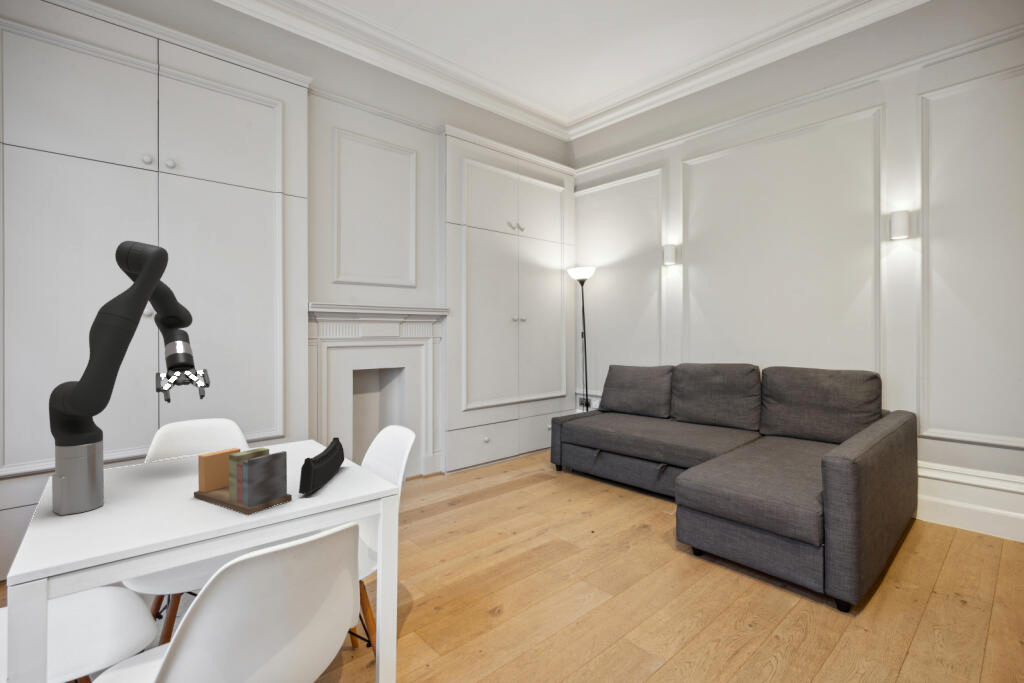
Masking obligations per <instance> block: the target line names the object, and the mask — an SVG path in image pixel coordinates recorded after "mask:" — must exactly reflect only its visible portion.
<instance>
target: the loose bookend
mask: <svg viewBox="0 0 1024 683" xmlns="http://www.w3.org/2000/svg"><path fill="white" fill-rule="evenodd" d="M239 452H241V448H237V447H233V448H227V449H224V450H217V451H214V452H209V453H204V454H199V455H198V457H197V459H198V464H197V465H198V467H197V468H198V472H197V473H198V491H200V492H203V493H205V492H209V491H213V490H216V489H220V488H224V487H227V486H229V455H230V454H234V453H239Z"/></svg>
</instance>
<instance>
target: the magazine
mask: <svg viewBox="0 0 1024 683" xmlns="http://www.w3.org/2000/svg"><path fill="white" fill-rule="evenodd" d="M344 461H345V450H344V446H343V444H342V442H341V441H340V437H333V438H332V441H330V444H329V445H328V446H327V447H326V448H325V449H323V451H321V452H320V453H319V454H317V455H315V456H314V457H307V458H304V463H303V464H302V466H301V468H300V479H299V488H298V493H299V495H300V494H301V495H308V494H312V492H315V491H316V490H319V489H320V487H321V488H322V487H324V486H325V485H326V484H327V483H329V482H330V481H331V479H333V477H334V476H335V475H336V473H338V471H339V469H340V468H341V467H342V465H343V463H344ZM324 484H325V485H324ZM323 485H324V486H323Z"/></svg>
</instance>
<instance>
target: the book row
mask: <svg viewBox="0 0 1024 683" xmlns="http://www.w3.org/2000/svg"><path fill="white" fill-rule="evenodd" d="M287 454H288V453H287V451H285V450H284V451H278V452H274V453H270V449H269V448H266V447H265V448H264V447H258V448H253V449H249V450H246V451H245V450H243V451H240V452H239V453H234V454H230V455H229V486H227V487H224V488H220V489H216V490H213V491H209V492H205V493H203V492H200V491H199V490H196V491H194V492H193V498H195V499H197V498H198V499H197V500H200V501H203V500H204V502H206V501H207V503H209V502H210V504H212V503H214V504H213V505H216V504H217V505H216V506H219V505H220V506H219V507H222V506H224V507H223V508H225V507H227V508H226V509H228V508H230V509H229V510H231V509H233V510H232V511H234V510H236V511H235V512H237V511H239V512H238V513H240V512H242V513H241V514H243V513H245V514H244V515H246V514H248V515H247V516H249V514H250V515H252V513H253V514H256V513H259V512H261V511H260V510H262V511H264V510H263V509H265V510H267V509H266V508H268V509H270V508H269V507H271V508H273V507H272V506H274V505H277V504H280V503H282V504H285V503H288V502H290V501H292V499H293V498H292V496H293V495H292V494H290V493H288V474H287V473H288V470H287V468H288V465H287V464H288V463H287V461H288V458H287V457H288V455H287ZM287 501H288V502H287ZM284 502H285V503H284ZM280 505H281V504H280ZM277 506H278V505H277ZM274 507H275V506H274ZM258 511H259V512H258ZM255 512H256V513H255Z"/></svg>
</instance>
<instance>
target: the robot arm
mask: <svg viewBox="0 0 1024 683" xmlns="http://www.w3.org/2000/svg"><path fill="white" fill-rule="evenodd" d="M114 255H115V256H114V257H115V262H116V265H117V266H118V267H119V269H120V270H121V271H122V272H123V273H124V275H126V276H127V277H128V278H129V279H130V280H131V281H132V283H133V284H132V285H130V287H128V288H126V290H124V291H123V292H121V293H119V294H118V295H116V296H114V297H113V298H112V299H110V300H108V301H107V302H106V303H104V304H103V305H102V306H101V307H100V308H99V309H98V311H97V314H96V315H95V318H94V319H93V322H92V324H91V326H90V329H89V331H88V343H89V344H88V346H89V359H88V362H87V365H86V367H85V370H84V371H83V374H82V375H81V377H80V379H79V380H69V381H65V382H61V383H60V384H58V385H57V386H55V388H53V390H52V391H51V393H50V395H49V397H48V398H49V399H48V418H49V428H50V433H51V435H52V437H53V439H54V466H55V467H54V472H55V473H53V474H52V476H51V484H52V485H51V489H52V490H51V492H52V494H51V496H52V497H51V498H52V499H51V500H52V505H51V507H52V512H53V511H54V512H53V513H55V512H56V513H55V514H57V513H58V514H57V515H59V516H61V515H62V516H66V515H73V514H79V513H83V512H84V513H85V512H88V511H92V510H95V509H98V508H100V507H101V506H103V505H104V503H105V502H104V501H105V494H104V493H105V492H104V491H105V490H104V489H105V486H104V480H105V478H104V432H103V429H101V428H100V427H99V426H98V425H97V424H96V423H95V421H94V417H95V416H98V415H99V414H100V413H102V412H103V411H104V410H105V409H106V408H107V407H108V404H109V403H110V401H111V398H112V395H113V391H114V388H115V385H116V380H117V377H118V374H119V371H120V369H121V365H122V363H123V362H124V359H125V357H126V354H127V351H128V348H129V346H130V345H131V343H132V340H133V338H134V336H135V333H136V332H137V329H138V327H139V325H140V322H141V319H142V317H143V314H144V312H145V309H146V307H147V304H148V303H150V306H151V307H152V308H153V310H154V312H155V315H154V317H153V321H154V323H155V325H156V327H157V329H158V330H159V332H160V333H161V335H162V338H163V345H164V360H165V366H166V367H165V368H166V373H160V372H156V373H155V377H154V378H155V392H156V393H162V394H163V400H164V402H167V404H170V403H171V393H170V392H171V390H172V389H173V388H174V387H175V386H177V387H179V386H180V387H181V386H189V385H192V386H193V387H195V388H197V389H198V395H199V400H203V399H204V398H205V396H206V388H210V385H211V379H210V375H209V373H208V369H207V368H203V369H202V370H197V369H196V367H195V365H196V364H195V360H194V355H193V350H192V347H191V342H190V337H189V336H190V335H189V333H188V332H187V331H186V330H184V329H187V328H188V327H190V326H191V325H192V324H193V316H192V313H191V312H190V311H189V309H187V308H186V307H185V305H183V304H181V302H179V301H178V299H177V297H176V294H175V293H174V292H173V290H172V289H171V288H170V287H169V286H168V285H167V284H166V283H164V281H162V280H161V279H162V277H163V275H164V273H165V272H166V269H167V266H168V263H169V253H168V251H167V249H166V248H164V247H162V246H159V245H154V244H149V243H144V242H140V241H135V240H125V241H122V242H120V243H119V245H118V246H117V248H116V250H115V253H114ZM198 376H200V378H202V379H203V381H201V380H200V379H199V377H198ZM164 379H166V380H168V382H166V384H165V385H164V386H162V383H161V382H162V381H164Z"/></svg>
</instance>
